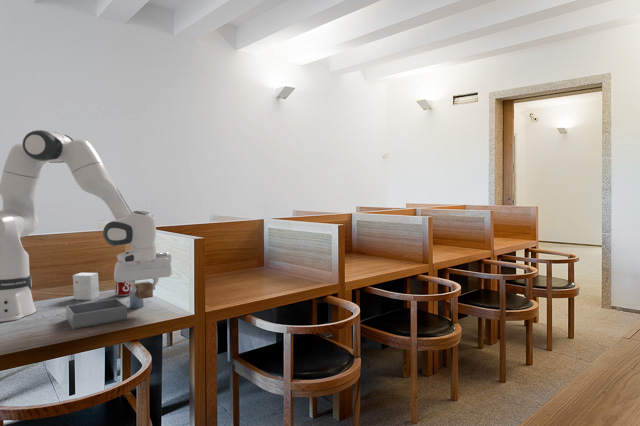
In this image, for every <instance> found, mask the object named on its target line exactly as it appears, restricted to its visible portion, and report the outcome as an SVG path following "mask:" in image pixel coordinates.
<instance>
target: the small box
mask: <svg viewBox="0 0 640 426" xmlns="http://www.w3.org/2000/svg"><path fill="white" fill-rule="evenodd" d="M72 284H73V285H72V286H73V287H72V288H73V300H74V299H76V300H78V301H79V300H80V301H82V300H83V301H92V300H94V299H97V298H99V297H100V289H99V288H100V287H99V286H100V285H99V284H100V283H99V273H98V272H79V273H76V274H72Z"/></svg>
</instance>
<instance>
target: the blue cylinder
mask: <svg viewBox="0 0 640 426" xmlns="http://www.w3.org/2000/svg"><path fill="white" fill-rule="evenodd" d="M129 293H130V295H129V308H130V309H133V310H134V309H135V310H136V309H142V308H143V307H144V298H143V299H138V298H137V297H135V293H133V292H132V289H130V290H129Z"/></svg>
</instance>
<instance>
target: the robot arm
mask: <svg viewBox="0 0 640 426" xmlns="http://www.w3.org/2000/svg"><path fill="white" fill-rule="evenodd" d="M8 152H9V153H8V154H7V157H6V160H5V163H4V165H3V170H2V174H1V178H0V196H1V198H2V199H1V200H2V209H1V210H0V322H9V321H18V320H20V319H22V318H23V317H27V316H29V315H30V316H31V315H32V314H34V313H35V312H37V309H36V306H35V303H34V300H33V295H32V294H33V293H32V286H33V284H32V281H33V280H32V275H31V274H30V256H29V253H28V252H27V251H26V250H25V249H24V247H23V245H22V244H23V243H22V242H21V238H25V237H26V236H29V235H31V234H32V233H33V232H35V231H37V228H38V226H39V218H38V216H37V214H36V209H35V208H36V207H35V203H36V202H35V199H36V192H37V187H38V184H39V183H38V182H39V179H40V175H41V172H42V171H41V170H42V167H43V165H45V164H46V163H50V164H54V163H56V164H58V163H59V164H60V163H65V164H66V165H67V166H68V168H69V171H70V172H71V175H72V176H73V179H74V181H75V182H76V184H77V185H78V186H79V188H80V189H81V190H82V191H84V192H86V193H88V194H90V195H93V196H95V197H97V198H100V200H102V201H103V202H104V203H105V204H106V205H107V208H109V210H110V212H111V214H112V215H113V217H114V219H115V220H111V221H110V222H108V223H106V225H105V226H104V228H103V230H102V236H103V238H104V241H105V242H106V243H107V244H109V245H111V246H115V247H120V246H121V247H122V246H124V245H130V249H129V250H126V251H124V252H121V253H119V254H117V256H116V259H117V261H116V262H115V265H114V269H113V270H114V272H113V279H114V281H116V282H118V283H119V282H128V281H129V284H130V285H131V287H132V292H133V293H135V292H138V288H137V287H135V281H143V280H144V281H145V280H150V279H152V284H153V291H155V290H156V286H157V284H158V282H159V278H167V277H168V278H169V277H170V276H172V273H173V272H172V265H171V264H172V255H171V254H169V253H168V252H159V253H158V252H157V244H156V236H157V223H156V218H155V216H154V214H152V213H151V212H150V211H144V210H134V211H131V208H130V207H129V206H128V203H127V202H126V201H125V199H124V197H123V195H122V193H121V191H120V190H119V189H118V187H117V186H116V184H115V182H114V181H113V180H112V178H111V176H110V174H109V172H108V170H107V168H106V166H105V164H104V162H103V160H102V158H101V157H100V155H99V154H98V152H97V151H96V149H95V148H94V146H93V145H92V144H91V143H90V142H89V141H87V140H86V139H75V140H74V139H73V138H72V137H70V136H68V134H62V133H60V132H56V131H48V130H47V131H46V130H41V129H40V130H32V131H30V132H28V133H26V134H25V136H24V137H23V139H22V143H17V144H14V145H13V146H12V147H11V149H10V151H8Z"/></svg>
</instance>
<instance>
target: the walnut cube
mask: <svg viewBox="0 0 640 426" xmlns="http://www.w3.org/2000/svg"><path fill="white" fill-rule="evenodd" d="M134 286H135V287H137V288H138V292H135V297H137V298H138V299H143V300H144V299H149V298H153V297H154V295H153V294H154V290H153V282H150V281H141V282H134Z"/></svg>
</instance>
